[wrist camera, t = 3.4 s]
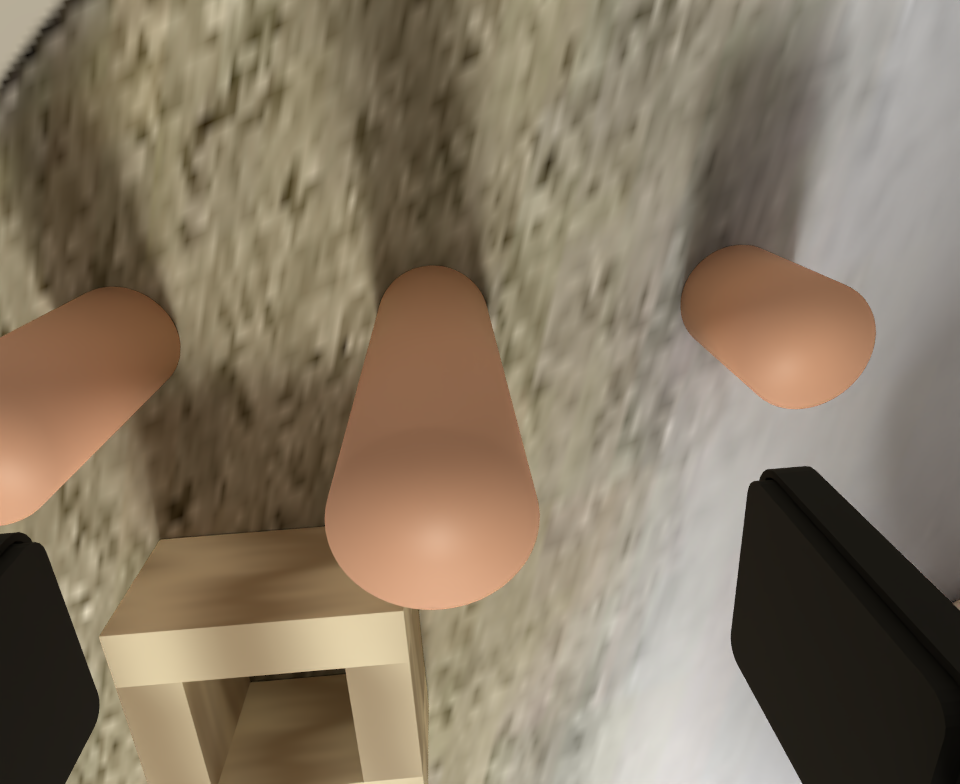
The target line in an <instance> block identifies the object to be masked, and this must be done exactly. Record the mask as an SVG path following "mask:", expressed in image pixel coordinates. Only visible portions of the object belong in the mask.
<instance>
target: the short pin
mask: <svg viewBox="0 0 960 784" xmlns="http://www.w3.org/2000/svg"><path fill="white" fill-rule="evenodd" d="M681 315H682V319H683V322H684V325H685V327H686V329H687V330H688V332H689V333H690V334H691V336H692V337H693V338H694V339H695V340H696V341H698V342H699V343H700V344H701V345H702V346H703V347H704V348H705V349H707V350H708V351H709V352H710V353H711V354H712V355H713V356H714V357H716V358H717V359H718V360H719V361H720V362H721V363H722V364H723V365H725V366H726V367H727V368H728V369H729V370H730V371H731V372H732V373H733V374H735V375H736V376H737V377H738V378H739V379H740V380H741V381H742V382H744V383H745V384H746V385H747V386H748V387H749V388H750V389H751V390H753V391H754V392H755V393H756V394H757V395H758V396H760V397H761V398H762V399H763V400H765V401H767V402H768V403H770V404H773V405H775V406H778V407H782V408H788V409H803V408H810V407H814V406H818V405H820V404H823V403H826V402H828V401H830V400H832V399H834V398H835V397H837V396H838V395H840V394H841V393H843V392H844V391H845V390H846V389H848V388H849V387H850V386H851V385H852V384H853V383H854V382H855V381H856V380H857V378H858V377H859V376H860V375H861V373H862V372H863V370H864V369H865V367H866V365H867V363H868V361H869V360H870V357H871V354H872V352H873V348H874V344H875V336H876V328H875V321H874V316H873V314H872V311H871V309H870V307H869V305H868V303H867V302H866V301H865V299H864V298H863V297H862V296H861V295H860V294H859V293H858V292H857V291H855V290H854V289H852V288H851V287H849V286H846V285H844V284H842V283H840V282H837V281H835V280H833V279H830V278H828V277H826V276H824V275H821V274H819V273H817V272H814V271H812V270H810V269H807V268H805V267H803V266H801V265H798V264H796V263H794V262H791V261H789V260H787V259H784V258H782V257H780V256H777V255H775V254H773V253H771V252H768V251H766V250H764V249H761V248H759V247H755V246H751V245H733V246H729V247H725V248H722V249H720V250H717V251H716V252H714V253H712V254H710V255H709V256H707V257H706V258H705V259H703V260H702V261H701V262H700V263H699V264H698V265H697V266H696V267H695V269H694V270H693V271H692V273H691V274H690V276H689V277H688V279H687V281H686V283H685V286H684V288H683V292H682V296H681Z"/></svg>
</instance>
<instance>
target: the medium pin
mask: <svg viewBox="0 0 960 784" xmlns="http://www.w3.org/2000/svg"><path fill="white" fill-rule="evenodd" d="M179 358H180V340H179V336H178V332H177V329H176V327H175V325H174V323H173V321H172V320H171V318H170V317H169V315H168V314H167V313H166V311H165V310H164V309H163V308H162V307H161V306H160V305H159V304H157V303H156V302H155V301H154V300H152V299H151V298H149V297H147V296H146V295H144V294H142V293H140V292H137V291H134V290H132V289H128V288H123V287H102V288H98V289H94V290H92V291H89V292H87V293H85V294H83V295H81V296H79V297H77V298H75V299H73V300H71V301H70V302H68V303H66V304H64V305H62V306H60V307H58V308H56V309H54V310H52V311H50V312H48V313H46V314H44V315H43V316H41V317H39V318H37V319H35V320H33V321H31V322H29V323H27V324H25V325H23V326H21V327H19V328H17V329H16V330H14V331H12V332H10V333H8V334H6V335H4V336H2V337H0V526H2V525H7V524H11V523H15V522H17V521H20V520H22V519H24V518H26V517H28V516H30V515H31V514H33V513H34V512H35V511H37V510H38V509H39V508H40V507H41V506H42V505H43V504H44V503H45V502H46V501H47V500H48V499H49V498H50V497H51V496H52V495H53V494H54V493H55V492H56V491H57V490H58V489H59V488H60V487H61V486H62V485H63V484H64V483H65V482H66V481H67V480H68V479H69V478H70V477H71V476H72V475H73V474H74V473H75V472H76V471H77V470H78V469H79V468H80V467H81V466H82V465H83V464H84V463H85V462H86V461H87V460H88V459H89V458H90V457H91V456H92V455H93V454H94V453H95V452H96V451H97V450H98V449H99V448H100V447H101V446H102V445H103V444H104V443H105V442H106V441H107V440H108V439H109V438H110V437H111V436H112V435H113V434H114V433H115V432H116V431H117V430H118V429H119V428H120V427H121V426H122V425H123V424H124V423H125V422H126V421H127V420H128V419H129V418H130V417H131V416H132V415H133V414H134V413H135V412H136V411H137V410H138V409H139V408H140V407H141V406H142V405H143V404H144V403H145V402H146V401H147V400H148V399H149V398H150V397H151V396H152V395H153V394H154V393H155V392H156V391H157V390H158V389H159V388H160V387H161V386H162V385H163V384H164V383H165V382H166V381H167V380H168V379H169V378H170V377H171V376H172V374H173V373H174V371H175V369H176V367H177V365H178V362H179Z"/></svg>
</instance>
